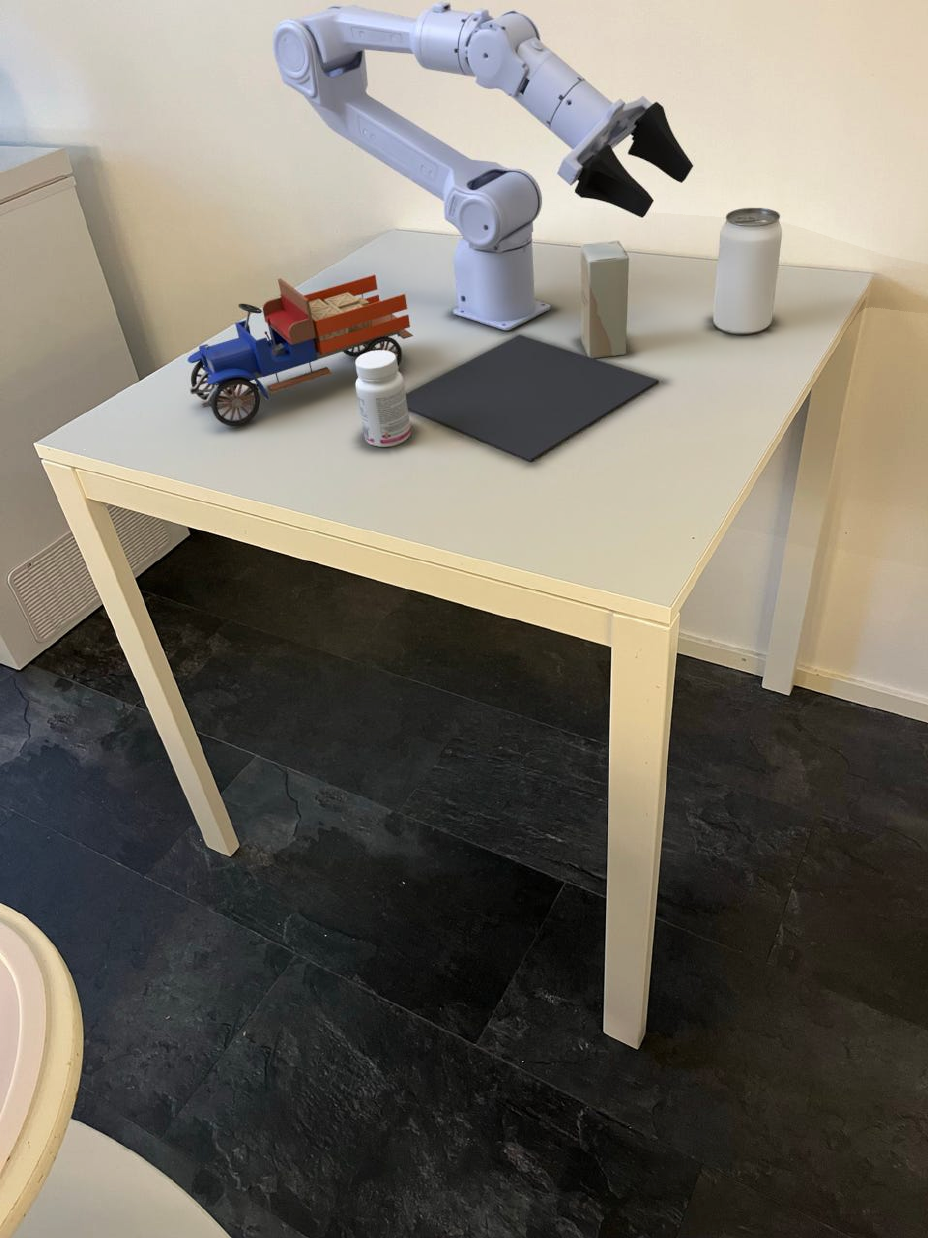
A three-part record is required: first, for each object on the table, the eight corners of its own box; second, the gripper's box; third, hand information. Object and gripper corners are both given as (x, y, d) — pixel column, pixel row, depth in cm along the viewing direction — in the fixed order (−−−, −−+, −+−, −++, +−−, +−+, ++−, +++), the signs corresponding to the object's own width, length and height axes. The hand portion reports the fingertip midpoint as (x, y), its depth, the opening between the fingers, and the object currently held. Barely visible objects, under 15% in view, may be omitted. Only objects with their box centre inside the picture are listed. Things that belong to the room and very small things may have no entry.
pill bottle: (418, 426, 98) (407, 349, 93) (401, 450, 95) (389, 371, 90) (375, 422, 100) (363, 346, 94) (357, 446, 97) (343, 368, 91)
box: (580, 340, 111) (579, 243, 103) (617, 335, 111) (619, 238, 103) (589, 360, 106) (588, 260, 99) (627, 355, 107) (629, 255, 99)
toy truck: (191, 406, 107) (162, 310, 99) (391, 342, 115) (377, 249, 108) (215, 436, 101) (186, 336, 94) (424, 366, 109) (411, 270, 102)
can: (772, 335, 107) (786, 225, 99) (712, 335, 108) (721, 226, 101) (770, 311, 112) (783, 205, 104) (712, 312, 113) (721, 206, 105)
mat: (392, 403, 103) (392, 400, 103) (519, 336, 113) (519, 334, 113) (530, 462, 91) (530, 459, 91) (658, 382, 101) (658, 379, 101)
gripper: (539, 104, 92) (646, 195, 91) (623, 42, 98) (723, 128, 98) (517, 161, 98) (617, 247, 98) (597, 100, 105) (691, 180, 104)
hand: (668, 191), depth 98 cm, fingers open, 7 cm apart
